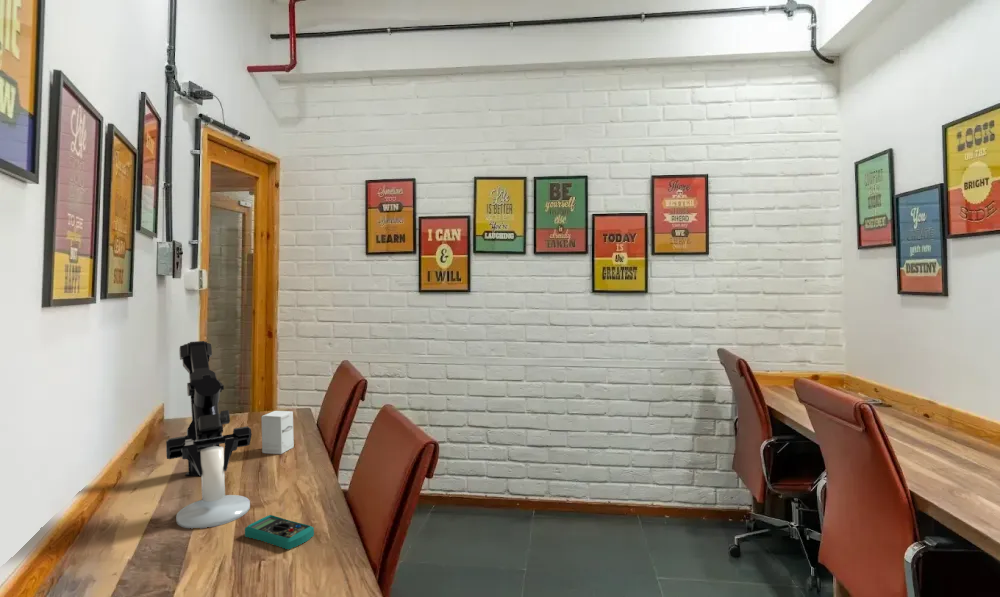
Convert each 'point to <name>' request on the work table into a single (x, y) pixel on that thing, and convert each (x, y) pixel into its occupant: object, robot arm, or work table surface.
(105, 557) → the work table surface
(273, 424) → the supplement box
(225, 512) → the plate
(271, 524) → the digital multimeter
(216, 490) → the white cylindrical post
